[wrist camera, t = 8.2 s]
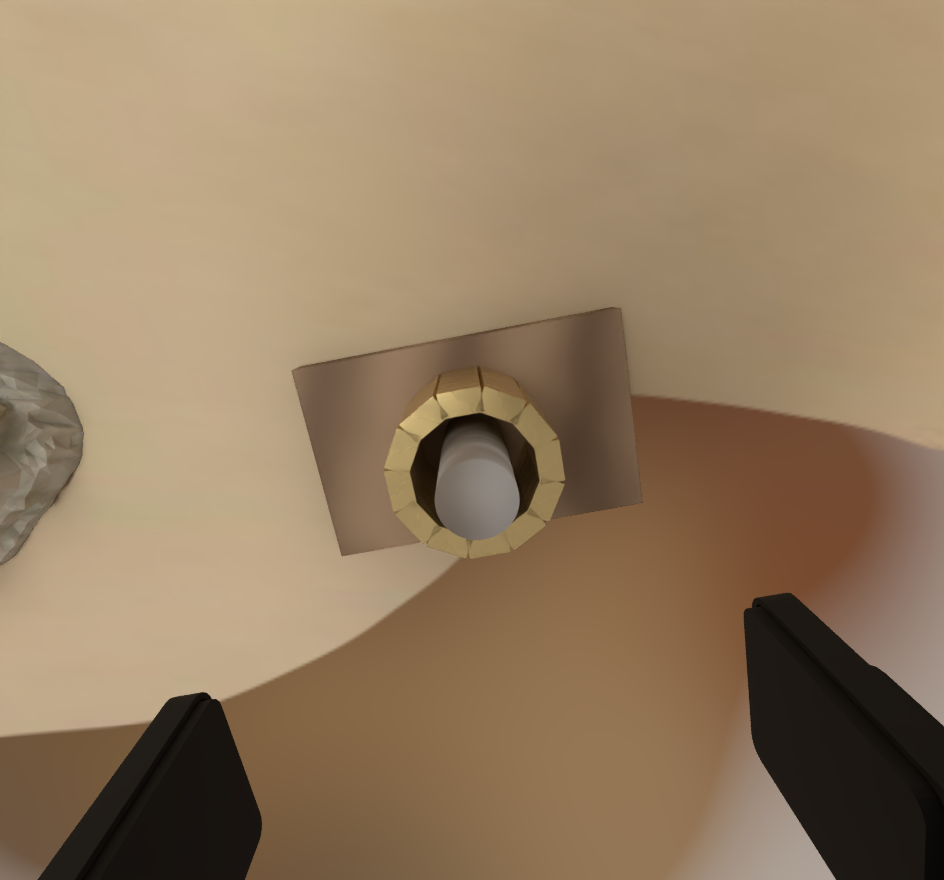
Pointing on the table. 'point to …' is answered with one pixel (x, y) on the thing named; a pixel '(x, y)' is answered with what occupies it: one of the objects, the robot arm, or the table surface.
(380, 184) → the table surface
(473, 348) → the post board
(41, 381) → the ceramic cottage
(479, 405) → the ring
